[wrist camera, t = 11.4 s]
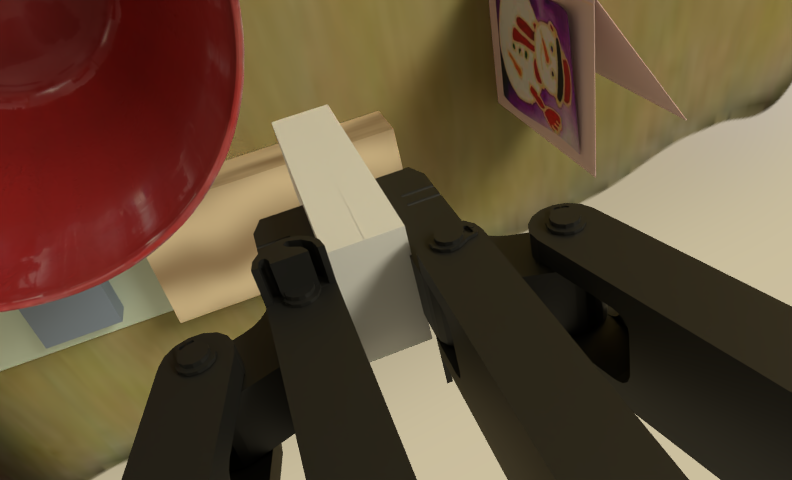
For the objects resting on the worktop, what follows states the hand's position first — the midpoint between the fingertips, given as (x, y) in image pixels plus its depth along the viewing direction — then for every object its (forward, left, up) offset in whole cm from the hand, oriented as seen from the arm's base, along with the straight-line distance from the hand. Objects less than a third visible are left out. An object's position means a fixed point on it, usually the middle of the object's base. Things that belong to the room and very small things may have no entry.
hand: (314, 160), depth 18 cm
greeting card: (+10, +21, -33) cm, 40 cm away
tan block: (+18, -2, -32) cm, 37 cm away
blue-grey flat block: (+18, -19, -30) cm, 40 cm away
